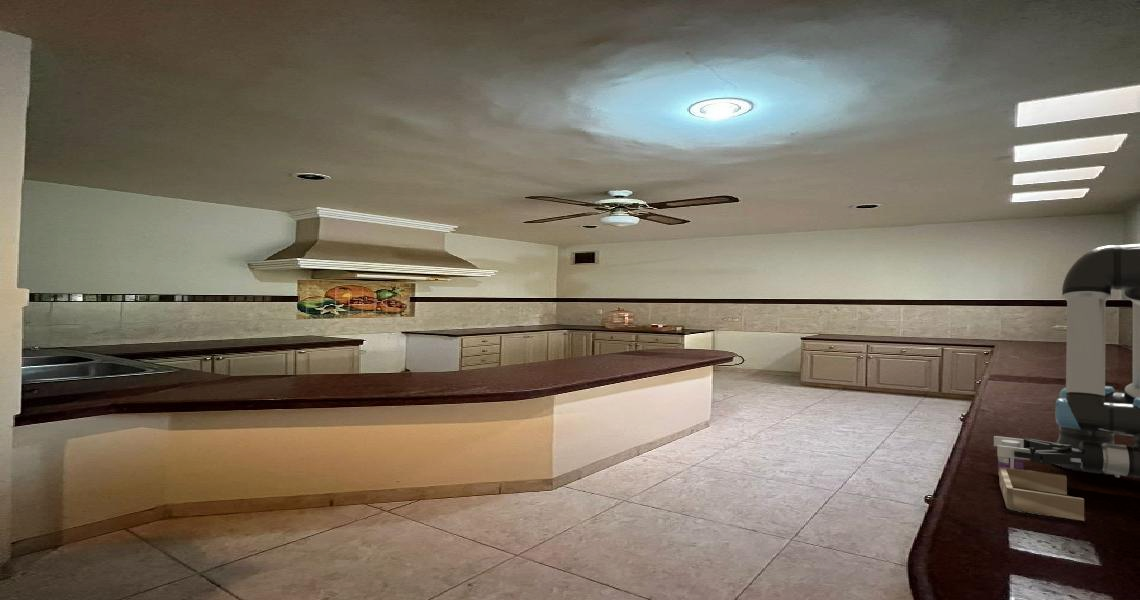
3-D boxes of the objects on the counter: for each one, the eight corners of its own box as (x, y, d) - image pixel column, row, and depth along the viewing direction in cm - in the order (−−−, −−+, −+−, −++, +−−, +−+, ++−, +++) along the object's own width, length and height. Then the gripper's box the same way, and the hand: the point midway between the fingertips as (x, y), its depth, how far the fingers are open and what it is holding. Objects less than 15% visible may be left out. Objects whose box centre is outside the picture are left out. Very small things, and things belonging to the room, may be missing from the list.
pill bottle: (1020, 476, 153) (1020, 440, 153) (1026, 481, 148) (1026, 444, 149) (995, 473, 156) (995, 438, 156) (1000, 478, 151) (1001, 442, 151)
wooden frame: (999, 483, 146) (999, 466, 146) (1065, 493, 139) (1065, 475, 139) (1006, 508, 128) (1006, 488, 128) (1084, 520, 120) (1084, 499, 121)
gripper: (1113, 485, 132) (999, 470, 143) (1091, 462, 152) (992, 450, 164) (1113, 452, 132) (999, 440, 143) (1091, 434, 153) (992, 424, 164)
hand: (995, 445), depth 154 cm, fingers open, 13 cm apart
